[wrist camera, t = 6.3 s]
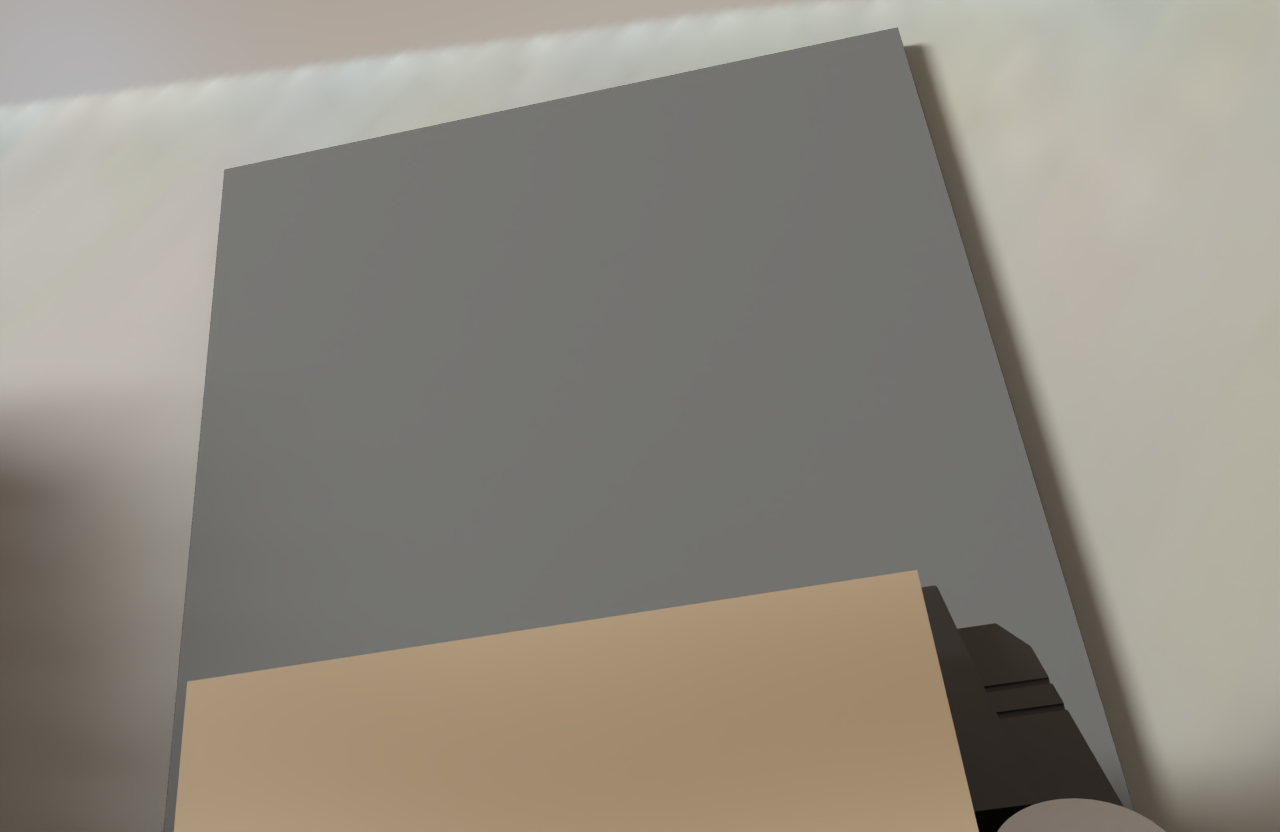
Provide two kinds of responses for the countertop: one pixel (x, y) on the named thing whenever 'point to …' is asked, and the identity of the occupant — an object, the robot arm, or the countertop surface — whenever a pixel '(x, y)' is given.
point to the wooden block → (600, 727)
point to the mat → (609, 378)
